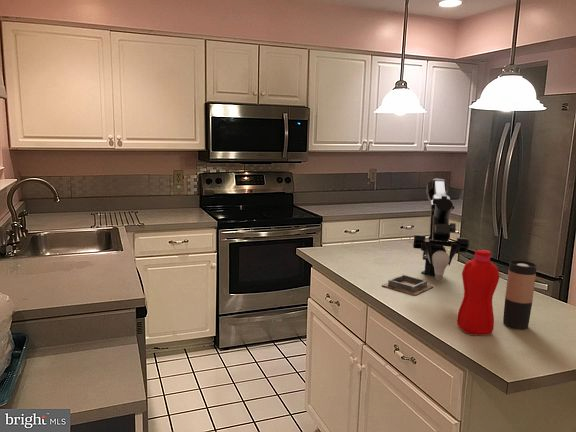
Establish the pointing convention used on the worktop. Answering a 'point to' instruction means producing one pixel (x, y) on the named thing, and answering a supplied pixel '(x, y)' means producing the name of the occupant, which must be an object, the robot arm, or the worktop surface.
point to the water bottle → (478, 295)
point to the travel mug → (519, 294)
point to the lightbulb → (440, 263)
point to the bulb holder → (408, 285)
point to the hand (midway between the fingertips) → (440, 264)
